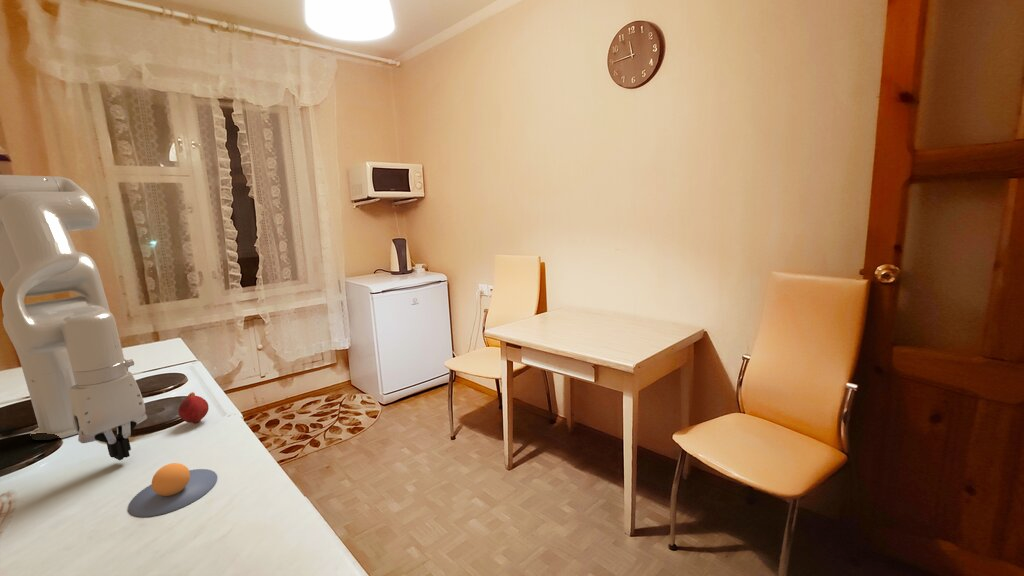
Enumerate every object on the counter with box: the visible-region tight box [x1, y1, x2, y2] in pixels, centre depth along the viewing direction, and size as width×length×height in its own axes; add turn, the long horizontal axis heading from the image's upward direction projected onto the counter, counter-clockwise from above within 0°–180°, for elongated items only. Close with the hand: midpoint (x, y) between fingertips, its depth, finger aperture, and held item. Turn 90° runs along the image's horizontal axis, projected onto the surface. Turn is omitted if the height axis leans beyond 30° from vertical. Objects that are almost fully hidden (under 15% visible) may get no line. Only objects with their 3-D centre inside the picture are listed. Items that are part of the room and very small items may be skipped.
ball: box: [151, 462, 190, 496], centre depth 78 cm, size 6×6×6 cm
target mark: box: [128, 468, 218, 518], centre depth 79 cm, size 13×13×1 cm
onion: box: [177, 391, 210, 425], centre depth 104 cm, size 6×6×8 cm
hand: (121, 456), depth 88 cm, fingers closed
